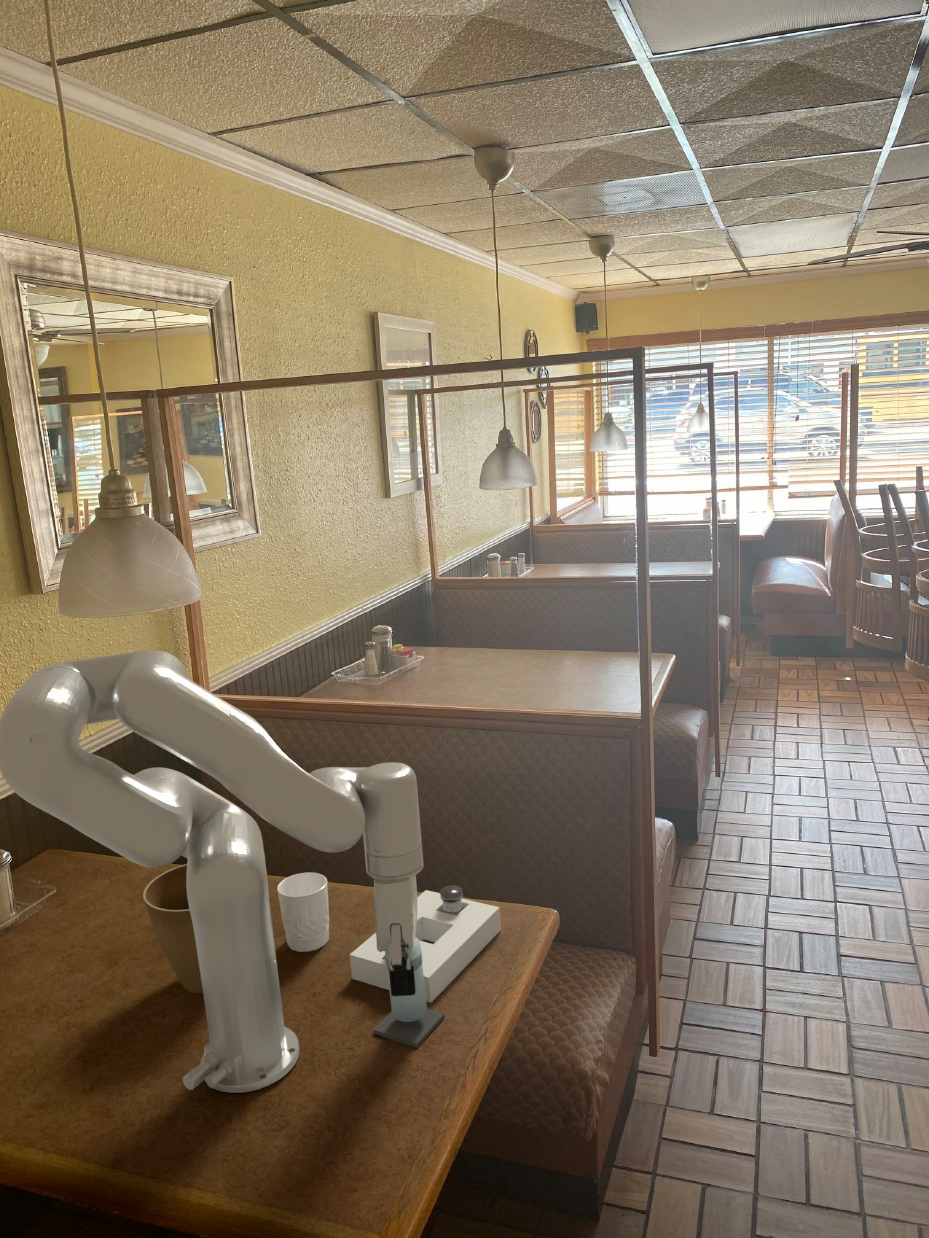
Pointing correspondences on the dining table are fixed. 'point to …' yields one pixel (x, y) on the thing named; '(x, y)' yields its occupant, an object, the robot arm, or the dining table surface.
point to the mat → (409, 1028)
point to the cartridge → (415, 1004)
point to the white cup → (305, 911)
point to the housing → (447, 955)
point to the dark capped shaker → (451, 899)
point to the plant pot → (174, 925)
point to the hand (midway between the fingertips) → (405, 980)
